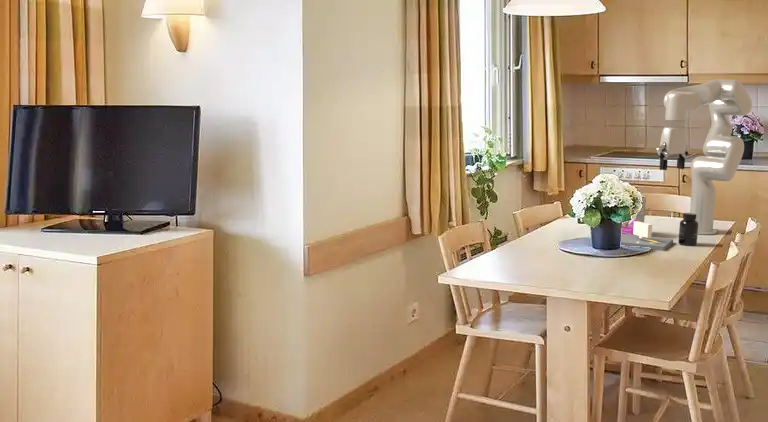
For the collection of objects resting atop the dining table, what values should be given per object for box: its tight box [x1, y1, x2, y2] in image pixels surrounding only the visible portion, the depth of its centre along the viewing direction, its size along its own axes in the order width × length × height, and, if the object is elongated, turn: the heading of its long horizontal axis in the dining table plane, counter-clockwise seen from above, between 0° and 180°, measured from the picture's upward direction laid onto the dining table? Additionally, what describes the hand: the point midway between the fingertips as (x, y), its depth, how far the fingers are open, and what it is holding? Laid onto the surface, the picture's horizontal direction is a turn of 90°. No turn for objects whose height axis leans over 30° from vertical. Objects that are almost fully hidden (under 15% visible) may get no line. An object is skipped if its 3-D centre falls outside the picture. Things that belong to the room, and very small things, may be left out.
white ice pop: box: [633, 221, 658, 243], centre depth 341 cm, size 12×2×6 cm, turn 26°
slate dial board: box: [621, 234, 674, 251], centre depth 344 cm, size 18×20×2 cm
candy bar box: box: [622, 195, 647, 235], centre depth 362 cm, size 11×5×16 cm, turn 34°
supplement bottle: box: [678, 212, 699, 247], centre depth 344 cm, size 7×7×12 cm
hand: (671, 169), depth 346 cm, fingers open, 9 cm apart
